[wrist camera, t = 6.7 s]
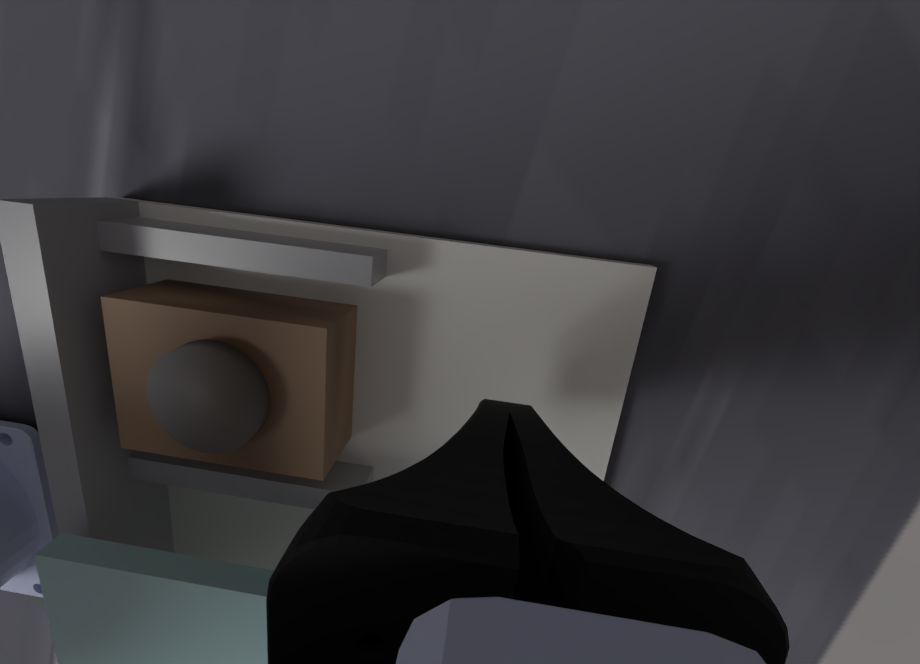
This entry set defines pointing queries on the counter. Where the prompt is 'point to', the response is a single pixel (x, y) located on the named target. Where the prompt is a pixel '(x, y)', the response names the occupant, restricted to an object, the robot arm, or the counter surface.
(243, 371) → the block
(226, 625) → the cover
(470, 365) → the housing
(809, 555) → the counter surface
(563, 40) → the counter surface
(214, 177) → the counter surface
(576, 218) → the counter surface
